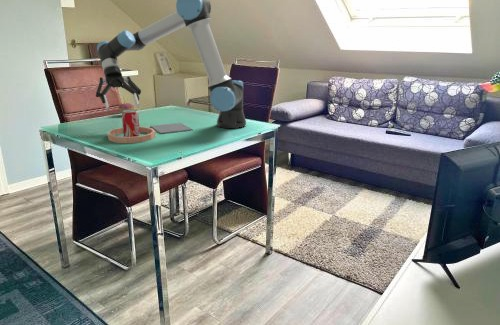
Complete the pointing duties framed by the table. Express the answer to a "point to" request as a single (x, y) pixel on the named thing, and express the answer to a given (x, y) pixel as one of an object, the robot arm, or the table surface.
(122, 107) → the cupcake
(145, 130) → the orange-brown ring
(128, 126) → the soda can
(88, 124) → the table surface
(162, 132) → the rubber mat
